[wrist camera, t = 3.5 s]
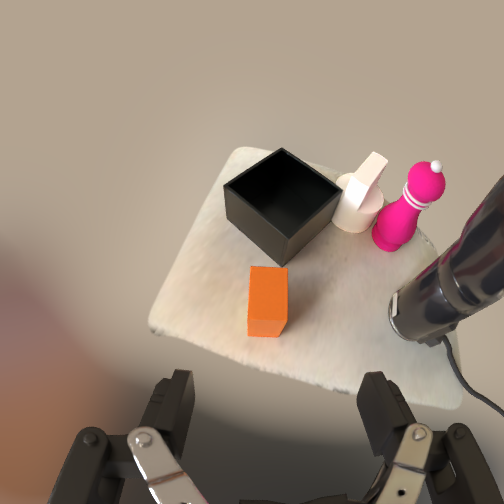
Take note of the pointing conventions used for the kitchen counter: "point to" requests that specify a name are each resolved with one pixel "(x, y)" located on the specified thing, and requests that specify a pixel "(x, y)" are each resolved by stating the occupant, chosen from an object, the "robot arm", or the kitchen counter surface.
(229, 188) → the bin
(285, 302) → the orange rectangular block
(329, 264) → the kitchen counter surface
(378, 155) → the cylinder with rectangular tab
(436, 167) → the pepper mill
